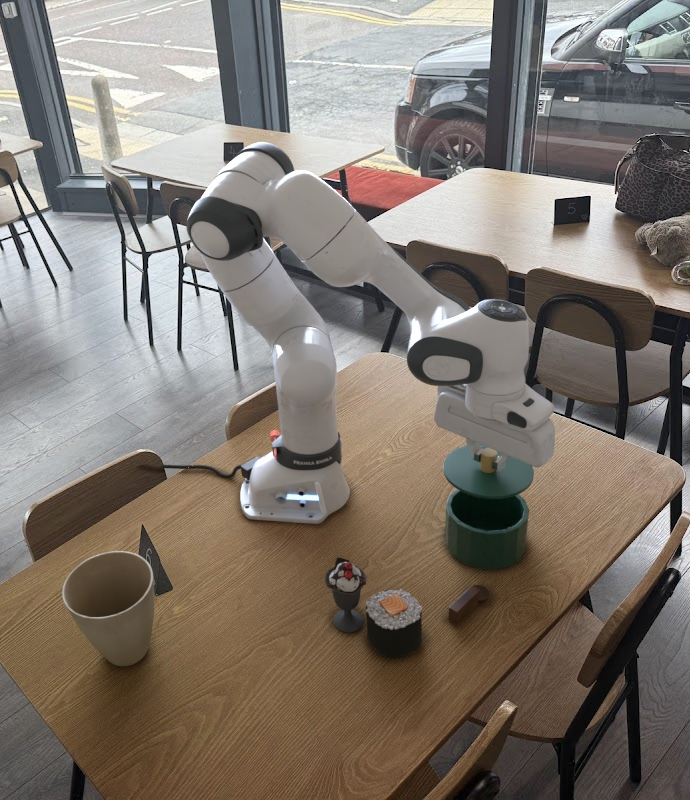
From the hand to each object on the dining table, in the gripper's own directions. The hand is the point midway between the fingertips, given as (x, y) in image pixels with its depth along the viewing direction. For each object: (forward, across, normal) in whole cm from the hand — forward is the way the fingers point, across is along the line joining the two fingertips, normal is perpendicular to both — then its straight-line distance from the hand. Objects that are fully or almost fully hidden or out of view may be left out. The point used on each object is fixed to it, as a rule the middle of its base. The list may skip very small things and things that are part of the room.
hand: (488, 464), depth 134 cm
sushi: (+19, +2, -28) cm, 34 cm away
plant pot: (+19, -30, -60) cm, 70 cm away
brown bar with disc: (+18, +7, -15) cm, 24 cm away
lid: (+2, 0, 0) cm, 2 cm away
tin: (+18, 0, 0) cm, 18 cm away
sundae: (+19, -6, -30) cm, 36 cm away
